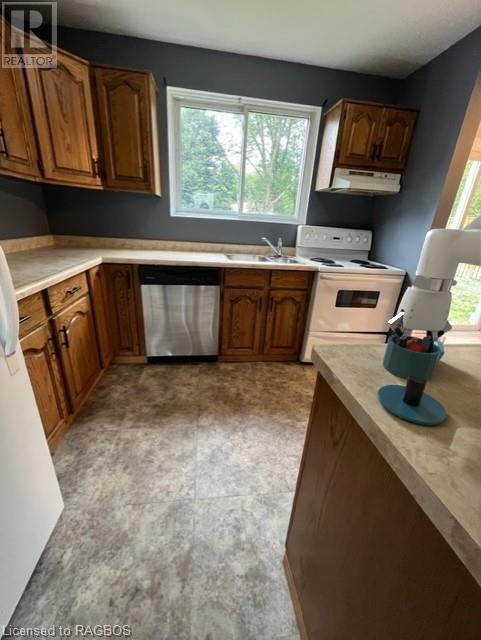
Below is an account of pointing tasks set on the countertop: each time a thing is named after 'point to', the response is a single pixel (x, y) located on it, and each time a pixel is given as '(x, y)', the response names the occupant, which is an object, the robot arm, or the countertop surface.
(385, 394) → the lid
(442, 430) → the countertop surface
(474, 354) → the countertop surface
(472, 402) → the countertop surface
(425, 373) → the pot
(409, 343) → the onion
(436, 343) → the yogurt
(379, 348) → the countertop surface
